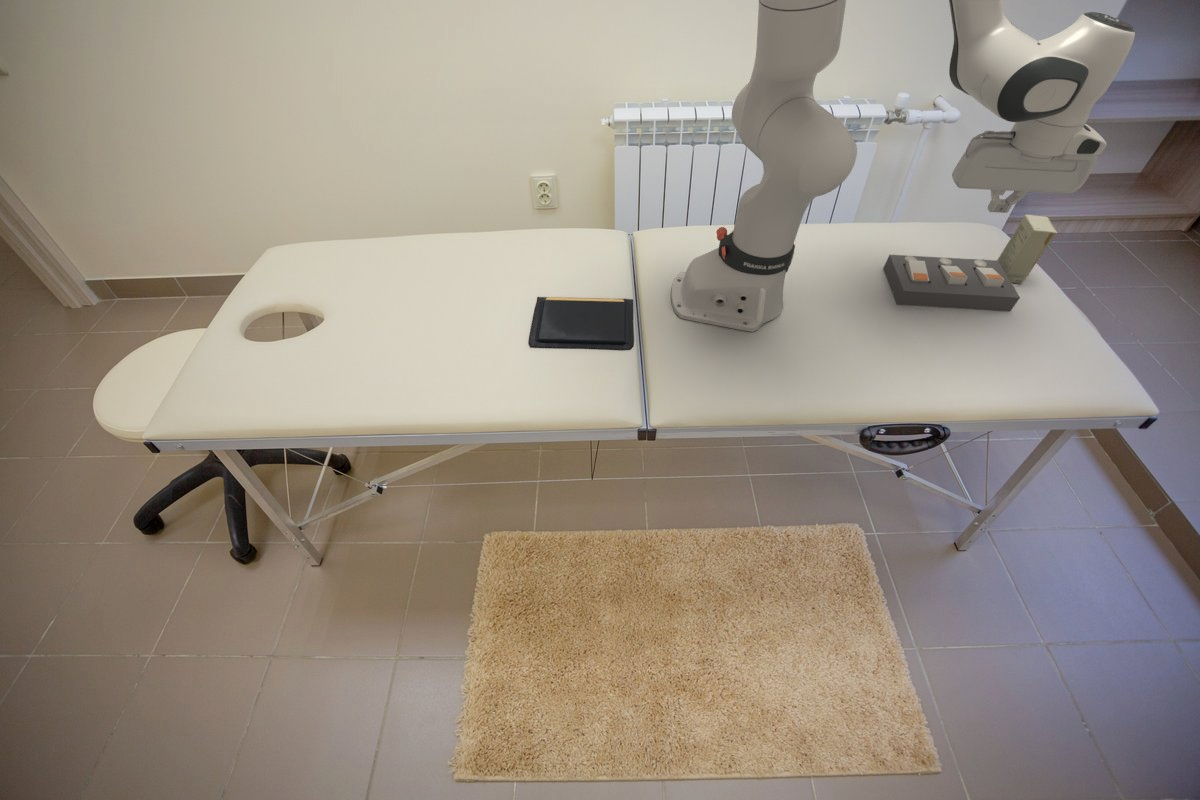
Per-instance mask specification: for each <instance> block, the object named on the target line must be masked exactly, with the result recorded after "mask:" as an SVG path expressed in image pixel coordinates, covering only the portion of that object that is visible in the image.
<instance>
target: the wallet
mask: <svg viewBox="0 0 1200 800" xmlns="http://www.w3.org/2000/svg"><path fill="white" fill-rule="evenodd" d="M536 298H537V299H536V303H535V306H534V310H533V315H532V319H531V325H530V330H529V336H528V346H529V348H530V349H531V348H532V349H533V348H534V349H565V350H566V349H569V350H570V349H572V350H573V349H574V350H578V349H579V350H599V351H600V350H601V351H602V350H606V351H631V350H632V349H633V347H634V343H635V334H634V333H635V331H634V329H635V328H634V310H635V309H634V299H632V298H601V297H600V298H596V297H595V298H594V297H592V298H591V297H590V298H589V297H558V296H557V297H554V296H551V297H549V296H548V297H547V296H537V297H536Z"/></svg>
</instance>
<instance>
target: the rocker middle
mask: <svg viewBox="0 0 1200 800" xmlns="http://www.w3.org/2000/svg"><path fill="white" fill-rule="evenodd" d="M940 271H941V273H942V276H943V278H944V280H945V282H946V284H949V285H965V282H966V280H967V278H968V277H967V276H966V275H965V274H964V273H963V272H962V271H961V270H960V269H959V268H958V267H957V266H945V265H941V266H940Z"/></svg>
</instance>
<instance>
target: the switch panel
mask: <svg viewBox="0 0 1200 800" xmlns="http://www.w3.org/2000/svg"><path fill="white" fill-rule="evenodd" d="M908 260H917V261H925V264H926V268H927V273H928V277H929V282H928V283H914V282H910V279H909V277H908V275H907V272H906V270H905V265H906V263H907V262H908ZM997 260H998V259H997ZM997 260H993V259H979V258H978V259H976V258H975V259H973V258H960V257H959V258H958V257H941V256H939V257H938V256H921V255H920V256H919V255H906V254H905V255H901V254H889V255H888V257H887V259H886V261H885V263H884V265H883V267H882V269H883V272H884V274H885V278H886V279H887V282H888V285H889V287H890V290H891V293H892V295H893V298H894V301H895V303H896V305H897V306H913V307H927V308H929V307H930V308H944V309H945V308H948V309H962V310H963V309H965V310H966V309H967V310H979V311H980V310H981V311H996V312H1011V311H1012V309H1013V308H1014V307H1015V305H1016V304H1017V303H1018V301H1019V300H1020V299H1021V297H1020V295H1019V294H1018V292H1017V290H1016V288H1015V287H1014V285H1013V282H1010V280H1009V278H1008V277H1007V275H1006V273H1005V272H1004V270H1003V268H1002V267H1001V265H1000V263H999V262H998V261H997ZM941 265H945V266H957V267H958V268H959V269H960V270H961V271H962V272H963V273H964V274H965V275H966V276H967V277H968V278H967V280H966V282H965V285H949V284H946V282H945V280H944V278H943V276H942V273H941V271H940V266H941ZM976 267H981V268H993V269H994V270H995V271H996V272H997V273H998V274H999V275H1000V276H1001V277H1002V278H1004V281H1003V283H1002V285H1001V287H984V286H983V285H982V283H981V282H980V280H979V278H978V276H977V274H976V272H975V269H976Z"/></svg>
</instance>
